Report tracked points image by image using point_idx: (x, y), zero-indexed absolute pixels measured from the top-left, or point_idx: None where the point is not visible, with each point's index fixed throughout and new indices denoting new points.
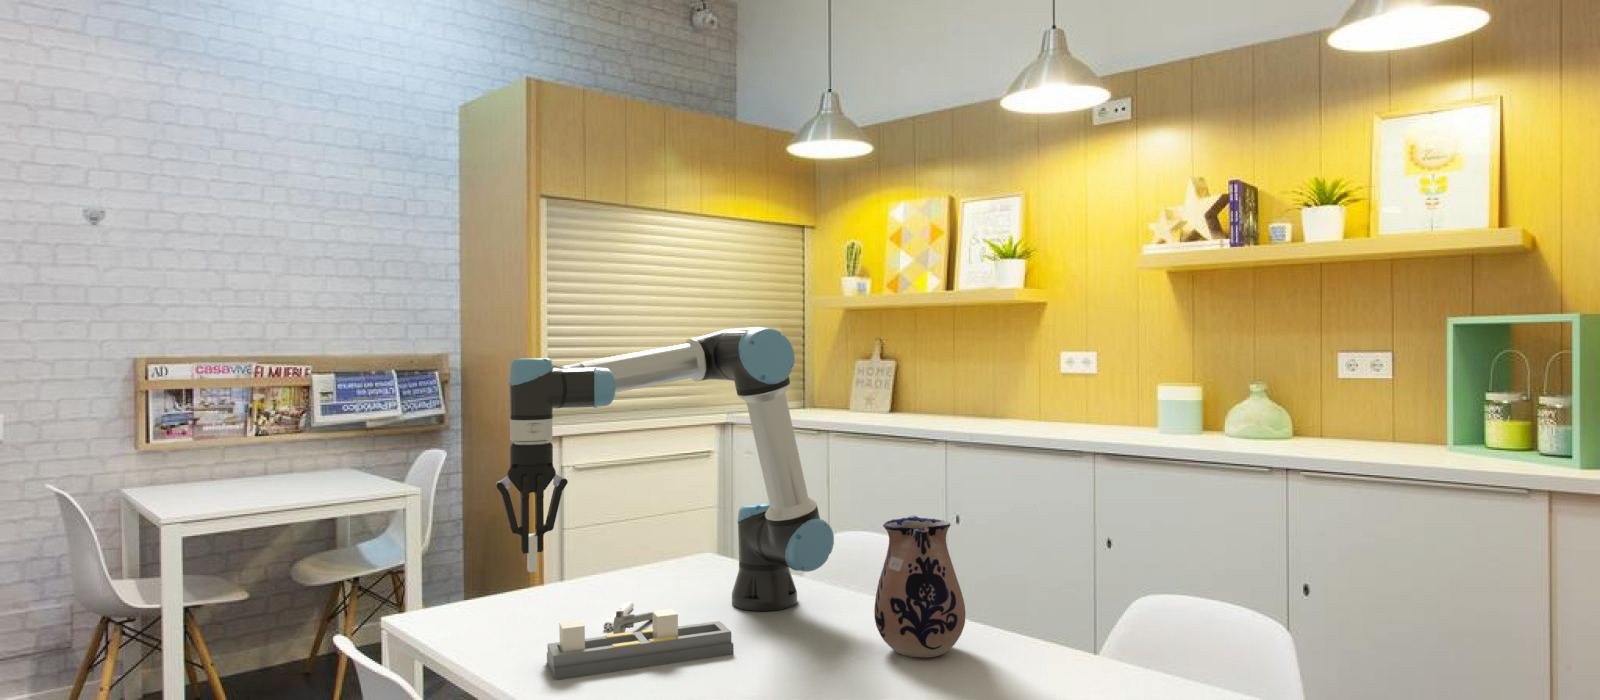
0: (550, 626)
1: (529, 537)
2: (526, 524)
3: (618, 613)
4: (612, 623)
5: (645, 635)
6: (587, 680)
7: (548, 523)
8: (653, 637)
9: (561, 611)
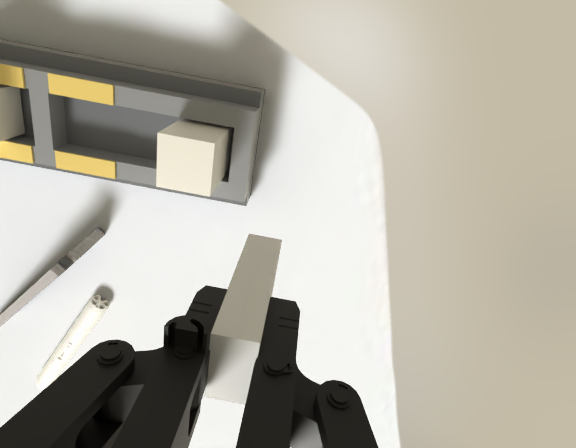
0: None
1: (257, 338)
2: (261, 413)
3: (63, 264)
4: (89, 303)
5: (30, 142)
6: (204, 44)
7: (107, 381)
8: (16, 129)
9: None
